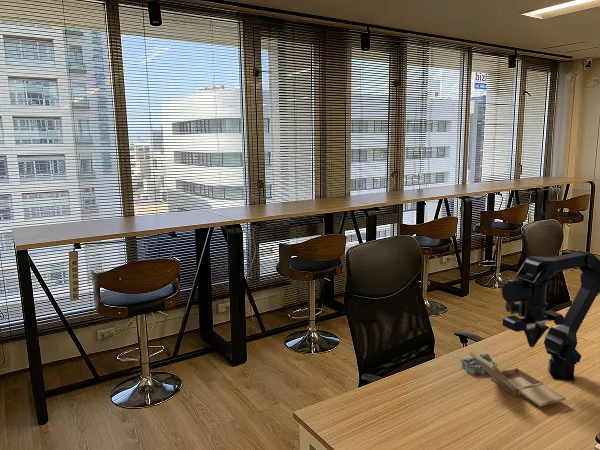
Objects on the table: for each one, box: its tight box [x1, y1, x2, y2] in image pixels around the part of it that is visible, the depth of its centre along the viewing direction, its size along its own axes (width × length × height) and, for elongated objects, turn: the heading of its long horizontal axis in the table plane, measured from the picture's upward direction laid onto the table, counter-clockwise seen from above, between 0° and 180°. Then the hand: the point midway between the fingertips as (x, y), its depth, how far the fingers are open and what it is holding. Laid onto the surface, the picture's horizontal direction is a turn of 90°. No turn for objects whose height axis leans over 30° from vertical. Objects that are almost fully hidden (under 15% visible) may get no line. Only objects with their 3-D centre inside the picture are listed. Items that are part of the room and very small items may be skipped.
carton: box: [490, 367, 566, 407], centre depth 145 cm, size 10×20×2 cm, turn 18°
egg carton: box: [459, 353, 498, 376], centre depth 160 cm, size 11×8×4 cm
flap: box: [468, 350, 515, 390], centre depth 145 cm, size 1×10×12 cm
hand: (531, 346), depth 149 cm, fingers closed
